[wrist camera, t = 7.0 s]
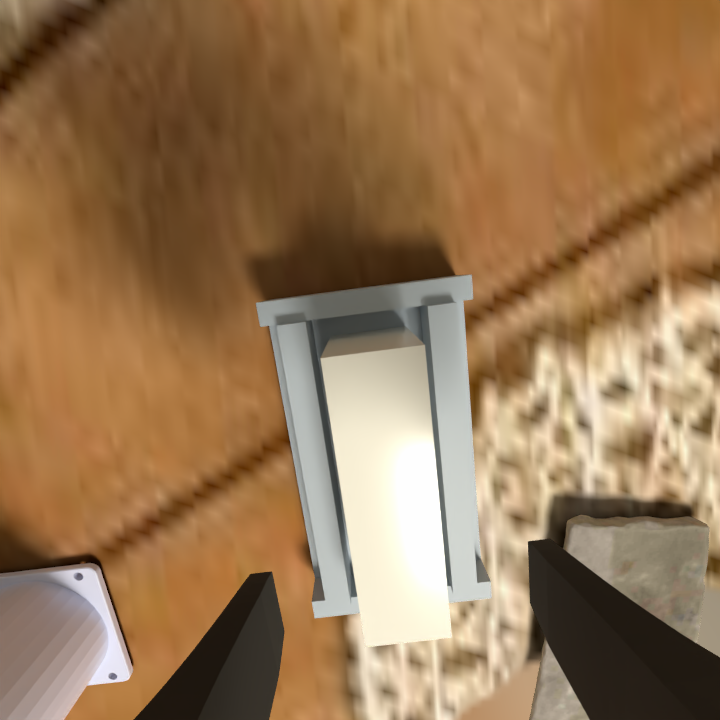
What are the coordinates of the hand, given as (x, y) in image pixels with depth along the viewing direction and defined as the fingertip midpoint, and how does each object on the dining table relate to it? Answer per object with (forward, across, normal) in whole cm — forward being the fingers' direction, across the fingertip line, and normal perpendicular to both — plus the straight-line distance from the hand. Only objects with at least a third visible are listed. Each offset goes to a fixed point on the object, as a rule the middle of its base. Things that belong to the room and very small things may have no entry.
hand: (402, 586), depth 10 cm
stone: (+10, -12, +14) cm, 21 cm away
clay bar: (+8, 0, 0) cm, 8 cm away
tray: (+9, 0, 0) cm, 9 cm away
